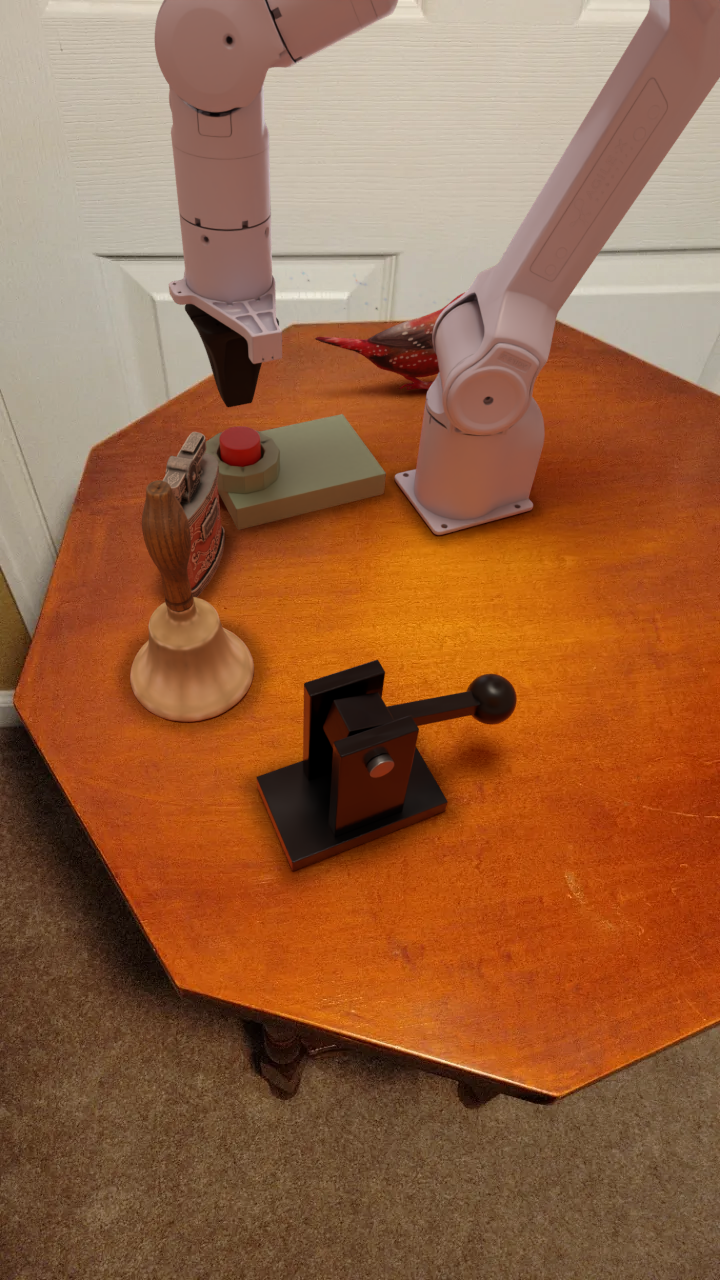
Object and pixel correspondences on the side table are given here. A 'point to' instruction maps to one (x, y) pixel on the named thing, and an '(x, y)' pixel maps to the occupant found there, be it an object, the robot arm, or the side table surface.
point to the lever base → (348, 777)
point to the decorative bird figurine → (400, 349)
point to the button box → (299, 472)
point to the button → (240, 446)
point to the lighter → (198, 507)
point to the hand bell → (184, 629)
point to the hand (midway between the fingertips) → (236, 400)
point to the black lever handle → (423, 708)
